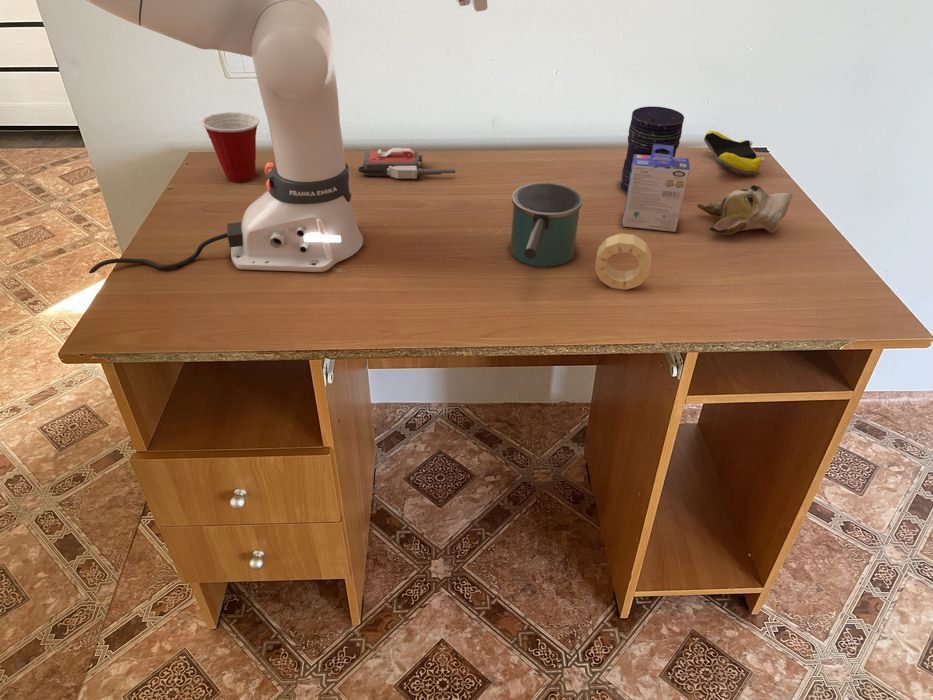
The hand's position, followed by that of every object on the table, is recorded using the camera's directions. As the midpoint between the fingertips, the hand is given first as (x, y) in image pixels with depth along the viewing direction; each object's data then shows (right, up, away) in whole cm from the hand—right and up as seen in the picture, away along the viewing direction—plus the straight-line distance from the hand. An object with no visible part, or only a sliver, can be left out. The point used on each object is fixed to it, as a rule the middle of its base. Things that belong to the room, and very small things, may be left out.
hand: (471, 7), depth 95 cm
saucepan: (+11, -33, +20) cm, 41 cm away
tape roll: (+24, -37, +16) cm, 47 cm away
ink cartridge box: (+33, -24, +32) cm, 52 cm away
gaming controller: (+56, -8, +52) cm, 77 cm away
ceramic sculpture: (+50, -26, +31) cm, 64 cm away
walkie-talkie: (-13, -10, +49) cm, 51 cm away
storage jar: (+35, -15, +43) cm, 58 cm away
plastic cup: (-47, -12, +46) cm, 67 cm away
